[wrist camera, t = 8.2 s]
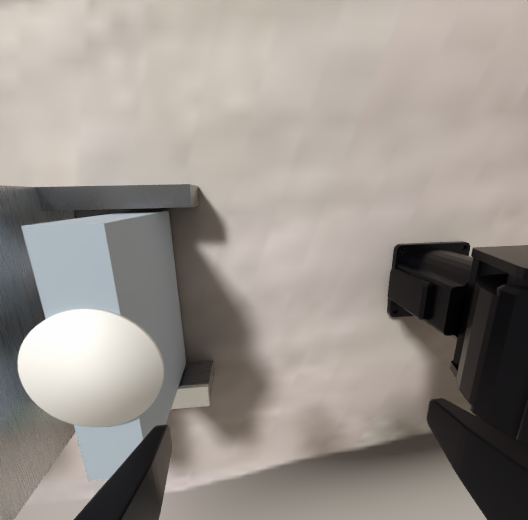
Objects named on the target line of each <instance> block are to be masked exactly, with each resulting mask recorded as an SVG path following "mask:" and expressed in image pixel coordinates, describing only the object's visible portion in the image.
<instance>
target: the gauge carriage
mask: <svg viewBox="0 0 528 520" xmlns="http://www.w3.org/2000/svg"><path fill="white" fill-rule="evenodd" d="M21 227H22V231H23V235H24V239H25V242H26V246H27V250H28V254H29V258H30V261H31V265H32V269H33V273H34V277H35V280H36V284H37V288H38V292H39V295H40V299H41V303H42V307H43V311H44V314H45V318H46V319H45V320H44V321H42V322H41V323H40V324H38V325H37V326H36V327H34V328H33V329H32V330H31V331H30V332H29V334H28V335H27V336H26V338H25V339H24V341H23V343H22V345H21V347H20V351H19V354H18V362H17V363H18V373H19V377H20V380H21V383H22V385H23V387H24V389H25V391H26V392H27V394H28V395H29V396H30V398H31V399H32V400H33V401H34V402H35V403H36V404H37V405H38V406H39V407H40V408H41V409H43V410H44V411H45V412H47V413H48V414H50V415H52V416H53V417H55V418H57V419H59V420H62V421H64V422H67V423H70V424H74V428H75V432H76V435H77V439H78V443H79V447H80V451H81V454H82V458H83V462H84V466H85V470H86V473H87V477H88V481H98V480H107V479H109V478H110V477H111V476H112V475H113V474H114V473H115V471H116V470H117V469H118V468H119V467H120V466H121V464H122V463H123V462H124V461H125V460H126V459H127V458H128V456H129V455H130V454H131V453H132V452H133V451H134V449H135V448H136V447H137V446H138V445H139V444H140V442H141V441H142V440H143V439H144V438H145V437H146V436H147V434H148V433H149V432H150V431H151V430H152V429H153V428H154V427H155V426H157V425H166V423H167V420H168V417H169V414H170V411H171V408H172V405H173V402H174V399H175V396H176V393H177V390H178V387H179V384H180V381H181V378H182V375H183V372H184V368H185V365H186V356H185V348H184V339H183V330H182V322H181V313H180V304H179V296H178V287H177V278H176V270H175V261H174V252H173V244H172V235H171V226H170V218H169V211H135V212H121V213H113V214H106V215H99V216H91V217H84V218H76V219H69V220H61V221H54V222H47V223H39V224H32V225H24V226H21Z"/></svg>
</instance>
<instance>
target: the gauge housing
mask: <svg viewBox="0 0 528 520" xmlns="http://www.w3.org/2000/svg"><path fill="white" fill-rule="evenodd" d="M195 206H199V194H198V186H195V185H190V184H182V185H129V186H75V187H20V186H0V520H14V519H15V517H16V516H17V514H18V513H19V512H20V510H21V509H22V507H23V506H24V505H25V503H26V502H27V500H28V499H29V497H30V496H31V495H32V493H33V492H34V490H35V489H36V487H37V486H38V485H39V483H40V482H41V480H42V479H43V478H44V476H45V475H46V473H47V472H48V470H49V469H50V468H51V466H52V465H53V463H54V462H55V460H56V459H57V458H58V456H59V455H60V453H61V452H62V451H63V449H64V448H65V446H66V445H67V443H68V442H69V441H70V439H71V438H72V436H73V435H74V433H75V428H74V424H70V423H67V422H64V421H62V420H59V419H57V418H55V417H53V416H52V415H50V414H48V413H47V412H45V411H44V410H43V409H41V408H40V407H39V406H38V405H37V404H36V403H35V402H34V401H33V400H32V399H31V398H30V396H29V395H28V394H27V392H26V391H25V389H24V387H23V385H22V383H21V380H20V377H19V373H18V363H17V362H18V354H19V351H20V347H21V345H22V343H23V341H24V339H25V338H26V336H27V335H28V334H29V332H30V331H31V330H32V329H33V328H34V327H36V326H37V325H38V324H40V323H41V322H42V321H44V320H45V319H46V318H45V314H44V311H43V307H42V303H41V299H40V295H39V292H38V288H37V284H36V280H35V277H34V273H33V269H32V265H31V261H30V258H29V254H28V250H27V246H26V242H25V239H24V235H23V231H22V227H21V226H24V225H32V224H39V223H47V222H54V221H61V220H69V219H76V217H75V212H74V210H101V209H140V208H179V207H195ZM213 377H214V371H213V361H209V362H196V363H186V365H185V368H184V372H183V375H182V378H181V381H180V384H179V387H178V390H177V393H176V396H175V399H174V402H173V405H172V408H171V409H181V408H192V407H203V406H210V396H211V390H212V383H213Z"/></svg>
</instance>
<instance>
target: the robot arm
mask: <svg viewBox="0 0 528 520" xmlns="http://www.w3.org/2000/svg"><path fill="white" fill-rule="evenodd" d="M462 247H463V249H462ZM401 248H402V252H400V249H401ZM469 251H470V245H469V243H467V242H462V241H461V242H436V243H411V244H398V245H396V246H395V248H394V253H393V262H392V269H391V272H390V281H389V290H388V297H389V298H388V308H387V312H388V314H389V315H391V316H392V317H402V316H415V317H417V318H418V319H419V320H424V321H425V322H426V323H428V324H429V325H431V326H432V327H434V328H435V329H437V330H438V331H440V332H441V333H443V334H444V335H447V336H449V335H451V336H453V337H454V338H456V339H457V344H456V349H455V355H454V360H453V361H451V365H450V369H451V371H452V372H453V374H454V375H455V377H456V380H457V384H458V387H459V390H460V391H461V393H462V394H463V395H464V397H465V398H466V399H467V401H468V402H469V403H470V404H471V407H470V409H471V411H472V412H473V413H474V414H475V415H476V416H477V417H476V416H474V415H472V414H471V413H469V412H467V411H465V410H463V409H461V408H460V407H458V406H456V405H454V404H452V403H451V402H449V401H447V400H445V399H442V398H439V399H431V400H430V402H429V407H428V413H427V422H428V425H429V427H430V428H431V430H432V432H433V434H434V435H435V437H436V439H437V440H438V442H439V444H440V446H441V448H442V449H443V451H444V453H445V455H446V456H447V458H448V460H449V462H450V463H451V465H452V467H453V469H454V470H455V472H456V474H457V475H458V477H459V478H460V480H461V481H462V483H463V484H464V486H465V487H466V489H467V490H468V492H469V493H470V495H471V496H472V498H473V499H474V501H475V502H476V504H477V505H478V507H479V508H480V510H481V511H482V513H483V514H484V515H485V517H486V518H487V520H528V245H524V246H500V247H476V248H473V250H472V255H471V256H472V257H470V256H469ZM394 309H395V311H394V312H393V310H394ZM171 451H172V442H171V435H170V429H169V426H168V425H157V426H155V427H154V428H153V429H152V430H151V431H150V432H149V433H148V434H147V436H146V437H145V438H144V439H143V440H142V441H141V442H140V444H139V445H138V446H137V447H136V448H135V449H134V451H133V452H132V453H131V454H130V455H129V456H128V458H127V459H126V460H125V461H124V462H123V463H122V464H121V466H120V467H119V468H118V469H117V470H116V471H115V473H114V474H113V475H112V476H111V477H110V478H109V480H108V481H107V482H106V483H105V484H104V485H103V487H102V488H101V489H100V490H99V491H98V492H97V493H96V495H95V496H94V497H93V498H92V499H91V500H90V502H89V503H88V504H87V505H86V506H85V507H84V509H83V510H82V511H81V512H80V513H79V514H78V516H77V517H76V518H75V519H74V520H158V519H159V515H160V512H161V506H162V501H163V496H164V490H165V485H166V479H167V473H168V468H169V462H170V457H171Z"/></svg>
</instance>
